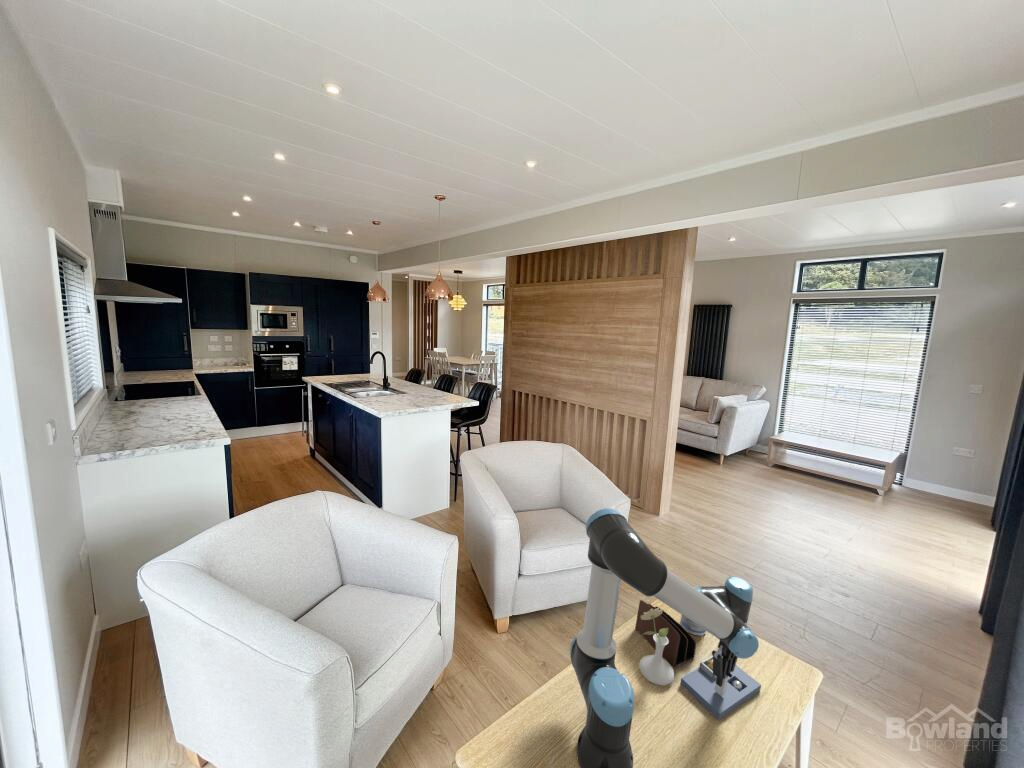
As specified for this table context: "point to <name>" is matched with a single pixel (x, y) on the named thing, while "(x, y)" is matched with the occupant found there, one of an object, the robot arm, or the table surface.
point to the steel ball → (737, 685)
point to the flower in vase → (656, 655)
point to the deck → (703, 687)
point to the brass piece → (710, 664)
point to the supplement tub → (691, 626)
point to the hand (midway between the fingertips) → (719, 691)
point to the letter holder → (679, 638)
